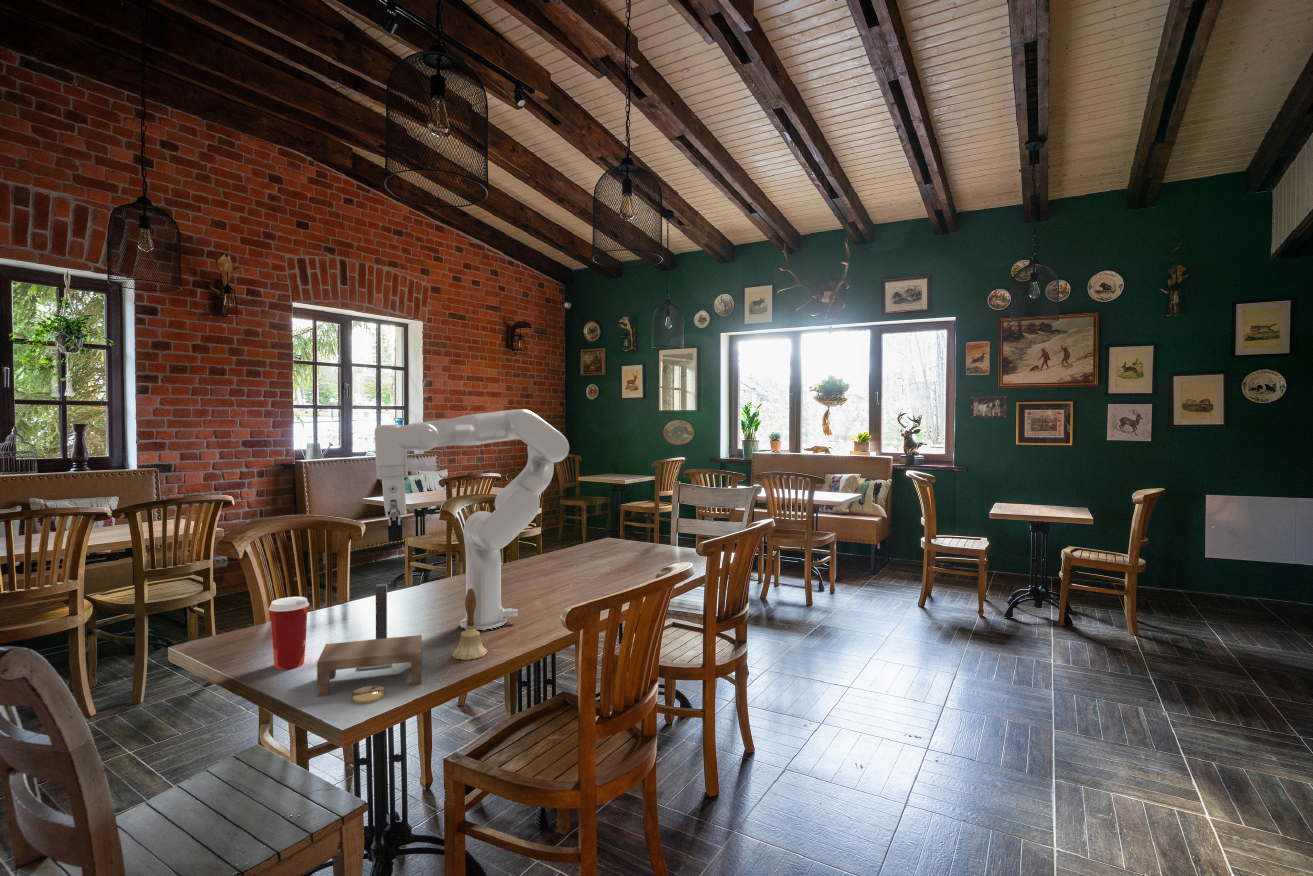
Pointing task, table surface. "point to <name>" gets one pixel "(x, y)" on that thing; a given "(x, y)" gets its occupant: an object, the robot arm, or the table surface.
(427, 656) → the table surface
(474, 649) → the hand bell
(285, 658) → the coffee cup
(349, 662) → the walnut bench
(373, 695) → the brass puck
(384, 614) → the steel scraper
